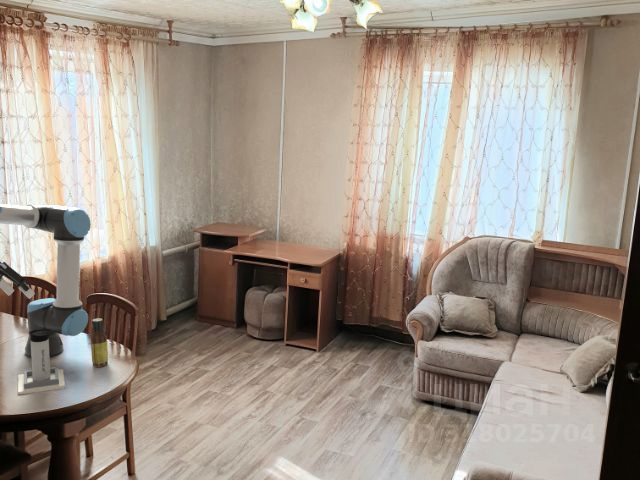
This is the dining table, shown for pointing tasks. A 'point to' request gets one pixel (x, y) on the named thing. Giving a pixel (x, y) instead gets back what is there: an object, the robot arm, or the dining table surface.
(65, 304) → the robot arm
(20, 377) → the mug tray
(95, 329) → the sauce bottle
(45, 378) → the travel mug
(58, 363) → the dining table surface
